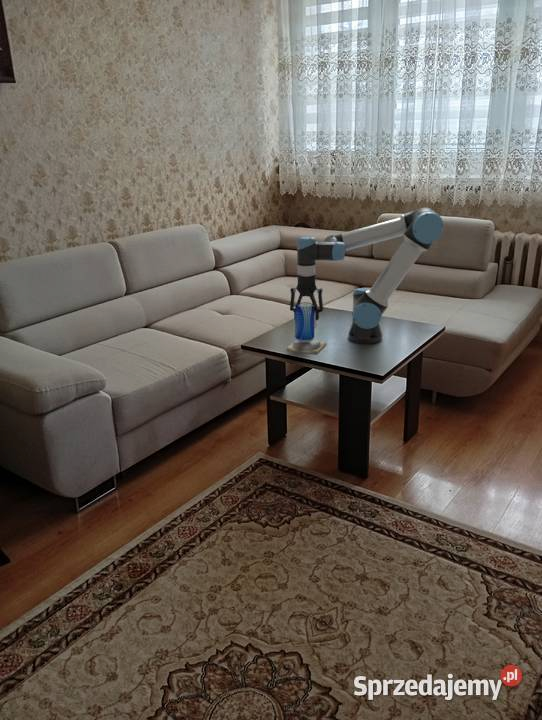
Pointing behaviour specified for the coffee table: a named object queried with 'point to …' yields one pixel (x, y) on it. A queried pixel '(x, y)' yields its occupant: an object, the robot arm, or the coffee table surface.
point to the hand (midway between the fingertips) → (306, 326)
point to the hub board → (307, 346)
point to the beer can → (304, 322)
